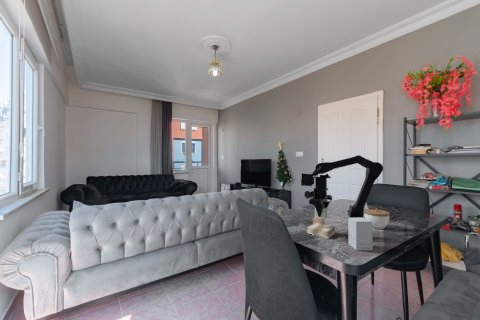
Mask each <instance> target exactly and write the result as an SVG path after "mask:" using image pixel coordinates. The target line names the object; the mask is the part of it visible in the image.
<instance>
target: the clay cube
mask: <svg viewBox="0 0 480 320" xmlns="http://www.w3.org/2000/svg"><path fill="white" fill-rule="evenodd" d="M314 223H319V224H324V225H325V219H320V218H315V216H314V217H312V224H314Z"/></svg>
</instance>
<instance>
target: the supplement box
mask: <svg viewBox="0 0 480 320" xmlns="http://www.w3.org/2000/svg"><path fill="white" fill-rule="evenodd" d="M347 223H348V225H347V226H348V229H347V230H348V231H347V232H348V235H347V236H348V242H347V243H348V245H349V246H350V247H351V248H352V249H354V250H356V251H373V228H372V221H370V220H367V219H365V217H363V218H349V217H348V219H347Z"/></svg>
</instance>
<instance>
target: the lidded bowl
mask: <svg viewBox="0 0 480 320" xmlns="http://www.w3.org/2000/svg"><path fill="white" fill-rule="evenodd" d="M364 218H365V219H367V220H370V221H372V229H376V230H384V228H386V227H387V226H388V225H389V223H390V212H389V211H386V210H382V209H378V208H377V207H376V208H375V209H373V208H369V209H364Z"/></svg>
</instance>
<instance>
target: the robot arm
mask: <svg viewBox="0 0 480 320" xmlns="http://www.w3.org/2000/svg"><path fill="white" fill-rule="evenodd" d="M355 164H358V165H360V166H361V167H363V168H365V178H364V181H363V183H362V185H361V188H360V190H359V193H358V195H357V198H356V201H355V202H354V204H349V208H348V209H347V216H348V218H364V216H365V213H364V210H365V206H366V203H367V201H368V198H369V196H370V194H371V191H372V188H373V186H374V183H375V181H376V180H377V179H378V178H379V177H380V175H381V174H382V173H383V171H384V166H383V164H381V163H380V162H377V161H372V160H370V159H368V158H365V157H363V156H362V155H360V154H359V155H354V156H352V157H348V158H344V159H339V160H335V161H329V162H319V163H316V165H315V169H314V171H312V172H311V173H303V172H302V173H301V179H300V181H301V182H300V185H301V186H302V187H313V185H314V186H315V187H314V188H313V190H312V191H310V190H306V191H304V194H303V195H304V198H305V199H306V200H307V199H308V204H309V205H312V206H314V209H315V208H316V211H317V214H318V216H319V217H321V214H322V211H323V208H327V209H328V207H329V206H330V203H331V201H333V196H332V195H331V194H328V190H329V188H328V182H327V181H328V179H331V178H332V177H331V176H330V175H329V174H328V172H331V171H333V170H335V169H339V168H342V167H343V168H344V167H347V166H352V165H355ZM318 175H319V176H318Z"/></svg>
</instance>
